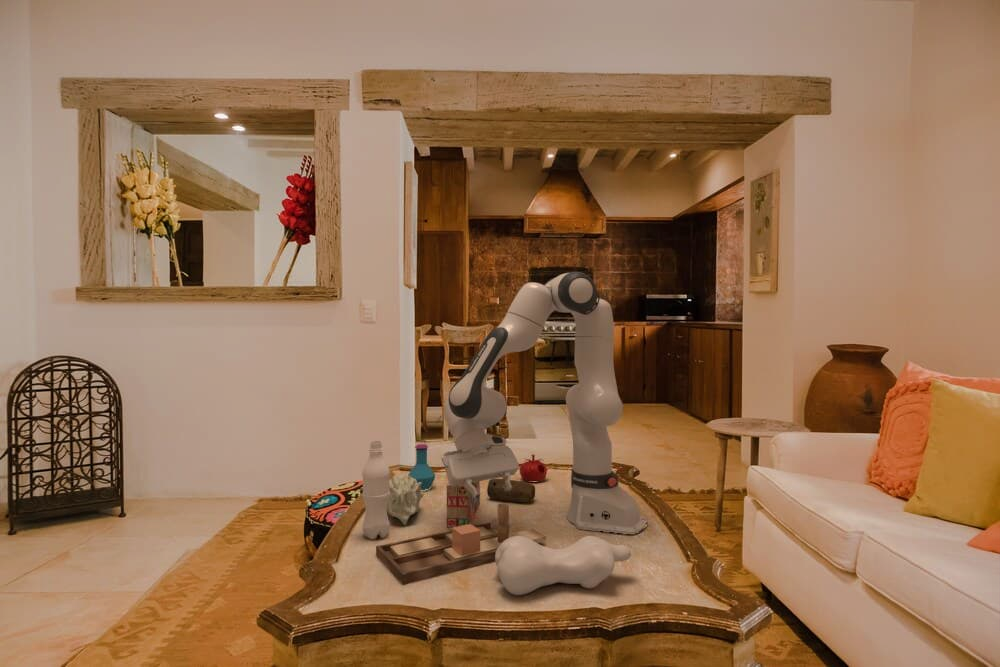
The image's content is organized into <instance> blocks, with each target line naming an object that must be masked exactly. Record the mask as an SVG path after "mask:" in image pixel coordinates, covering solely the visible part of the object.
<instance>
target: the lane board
mask: <svg viewBox="0 0 1000 667" xmlns="http://www.w3.org/2000/svg"><path fill="white" fill-rule="evenodd" d="M473 526H474V527H476V528H478V527H482V526H483V527H484V528H486V529H487V530H489V531H491V532H492V533H494V535H491V536H487V537H482V538H480V541H482V540H486V539H491V538H495V537H498V530H495V529H493V528H492V522H484V523H479V524H475V525H473ZM450 533H452V529H450V530H447V531H442V532H437V533H433V534H428V535H424V536H417V537H414V538H409V539H405V540H404V539H403V540H399V541H395V542H391V543H386V544H380V545H376V546H375V551H376V552H375V555H376V557H377V558H378V559H379V560H380V561H381V562H382V564H384V565H385V567H386V568H387V569H388V570H389V571H390V573H392V574H393V575H394V576H395V578H396V579H397V580H398V581H399V582H400V583H401V584H402V585H407V584H411V583H415V582H420V581H424V580H427V579H432V578H435V577H439V576H443V575H447V574H452V573H454V572H458V571H463V570H466V569H471V568H474V567H478V566H481V565H486V564H491V563H493V562H495V554H496V551H497V550H493V551H489V552H485V553H481V554H477V555H473V556H469V557H465V558H461V559H456V560H452V561H451V560H450V559H449V558H447V557H446V556H445V555H444V549H447V548H452V544H451V543H450V542H449V541H447V540H446V534H450ZM427 538H433V539H434V540H435V541H436V542H438V543H439V544H440V545H441V547H438V548H434V549H429V550H425V551H421V552H416V553H412V554H407V555H403V556H399V557H395V556H394V555H393V554H392V553H391V552H390V546H394V545H399V544H403V543H408V542H413V541H417V540H422V539H427Z"/></svg>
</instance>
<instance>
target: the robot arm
mask: <svg viewBox="0 0 1000 667" xmlns="http://www.w3.org/2000/svg"><path fill="white" fill-rule="evenodd" d="M553 312H554V313H565V314H566V313H570V314H571V315H572V316H573V319H574V323H575V329H574V330H575V333H574V336H575V337H574V366H575V369H576V373H577V379H578V383H577V384H575V385H572V386H571V387H570V388H569V389H568V391H567V392H566V395H565V403H566V407H567V410H568V417H569V426H570V432H571V437H572V469H571V474H570V475H571V476H570V483H571V484H570V486H571V489H572V490H571V496H570V497H571V499H570V503H569V508H568V512H567V516H566V519H567V520H568V521H569V522H570V523H571V524H573V525H575V527H576V528H577V529H579V530H585V531H593V532H600V531H603V533H609V532H614V533H613V534H617V533H625V534H624V535H626V534H633V533H637V532H639V531H641V530H642V529H643V528H644V527H645V525H646V523H647V524H648V519H647V518H646V516H643V515H640V512H639V506H638V502H637V500H636V499H635V497H633V496H632V495H630V493H628V492H627V491H626V490H624V489H623V488H622V487H621V486H620V485H619V479H620V473H618V474H616V472H614V471H613V466H612V464H613V463H612V462H613V461H612V460H613V459H612V458H613V457H612V456H613V454H612V452H613V450H612V447H613V446H612V441H611V439H610V437H609V431H608V427H610V426H613V425H615V424H616V423H618V422H619V420H620V419H621V417H622V415H623V412H624V411H623V410H624V406H623V401H622V399H621V398H620V396H619V390H618V385H617V379H616V375H615V373H616V372H615V367H614V347H615V346H614V343H615V342H614V341H615V339H614V338H615V337H614V335H615V329H614V328H615V326H614V325H615V324H614V317H613V316H614V315H613V310H612V306H611V304H610V303H609V302H608V301H606V300H605V299H602V298H600V294H599V292H598V290H597V286H596V284H595V282H594V280H593V279H592V278H591V276H589V275H588V274H586V273H584V272H580V271H571V272H565V273H562V274H560V275H557V276H556V277H553V278H551V279H549V280H547V282H546V283H544V284H542V283H539V282H533V281H532V282H527V283H525V284H524V285H522V287H521V288H520V290H518V292H517V293H516V295H515V297H514V299H513V300H512V302H511V304H510V305H509V308H508V310H507V312H506V313H505V316H504V318H503V319H502V321H501V322H500V323H499V325H498V326H497V327H496V328H495V327H494V328H493V329H492V330H491V331H489V333H488V334H487V335H486V337H485V338H484V339H483V341H482V342H481V344H480V346H479V348H478V349H477V350H476V352H475V354H474V356H473V357H472V359H471V360H470V362H469V364H468V366H467V367H466V368H465V370H464V372H463V373H462V375H461V376H460V378H458V380H457V381H455V383H454V384H453V385H452V387H451V388H450V391H449V392H448V393H449V394H448V399H447V400H446V402H445V404H444V407H443V412H444V413H443V414H444V419H445V423H446V425H447V428H448V430H449V432H450V434H451V435H452V437H453V439H454V446H455V447H456V450H453V451H446V452H444V454H442V455H441V462H442V464H443V466H444V467H445V472H446V473H445V474H446V477H447V480H448V483H450V484H451V485H452V486H457V485H462V484H464V487H465V488H466V489H467V490H468V491H470V492H471V493H472V496H473V498H476V497H479V496H480V497H481V490H480V491H479V488H475V487H474V486H473V485H472V484H471V483H473V482H478V481H479V482H483V481H488V480H491V479H503V480H505V483H504V485H503V488H504V491H510V490H511V489H512V486H511V484H510V480H511V476H515V474H516V473H517V471H518V469H520V466H519V465H520V464H519V462H518V459H517V457H516V455H515V454H514V451H513V450H512V449H511V448H510V446H508V445H506V444H507V440H506V438H505V437H503V436H500V435H499V436H498V435H493V434H489V433H486V432H485V430H487V429H489V428H491V427H493V426H495V425H496V424H498V423H500V422H501V421H502V420H503V419H504V417H505V415H506V413H507V410H508V408H507V407H508V403H507V399H506V396H505V395H504V394H503V393H501V392H500V391H497V390H495V389H493V388H490V387H487V386H485V382H486V381H487V379H488V377H489V376H490V374H491V372H492V370H493V368H494V367H495V366H496V363H497V362H498V360H499V359H501V357H503V356H504V355H506V354H509V353H517V352H519V353H520V352H523V351H527V350H529V349H531V348H533V347H534V346H535V345H536V343H537V342H538V340H539V338H540V337H541V334H542V331H543V329H544V327H545V324H546V322H547V320H548V318H549V317H550V315H552V313H553ZM643 520H644V521H643Z"/></svg>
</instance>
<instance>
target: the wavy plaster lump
mask: <svg viewBox="0 0 1000 667" xmlns="http://www.w3.org/2000/svg"><path fill="white" fill-rule="evenodd" d="M421 485H422V482H418V483H417V481H416V479H414V478H412V477H410V476H408V475H405V474H404V476H403V477H400V476H398V475H396V474H394V475H393V476H392V478H391V479H390V478H389V491H390V497H389V500H388V504H387V514H388V515H389V516H391V517H394V518H397V519H399V521H400V522H401V523H402V524H403V526H407V524H408V521H409V519H410V516H413V515H414V514H415V513H418V512H419V509H420V508H419V507H420V501H421V499H422V497H423V496H424V491H423V492H422V491H421Z"/></svg>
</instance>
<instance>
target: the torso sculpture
mask: <svg viewBox="0 0 1000 667" xmlns="http://www.w3.org/2000/svg"><path fill="white" fill-rule="evenodd" d="M631 557H632V550H631V548H630V547H628V546H627V545H623V544H618V545H617V544H616V545H615V544H612V543H610V542H608V541H606V540H604V539H602V538H600V537H598V536H594V535H586V536H583V537H581V538H580V539H578V540H577V541H576V542H575V543H573V544H572V545H568V546H567V547H564V548H556V549H555V548H551V547H548V546H544V545H541V544H540V543H536V542H534V541H533V540H531V539H528V538H526V537H523V536H513V537H510V538H508V539H506V540H505V541H503V542H502V543H501V545H500V546H499V547H498V549H497V551H496V554H495V561H494V562H495V564H496V566H497V574H498V577H499V579H500V581H501V583H502V585H503V587H504V588H505V589H506V591H507V592H508V593H510V594H512V595H515V596H522V595H527V594H529V593H531V592H533V591H536V590H537V589H539V588H542V587H545V586H550V585H553V584H557V583H562V584H568V585H574V584H576V585H577V584H579V585H580V586H581V587H583V588H584V589H593V588H594V589H595V588H596V587H597V586H599V585H600V584H601V582H603V581H604V580H605V579H606V578H608V577H609V576H611V574H612V573H613V572H614V570H615V563H617V562H625V561H627V560H630V559H631Z"/></svg>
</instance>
